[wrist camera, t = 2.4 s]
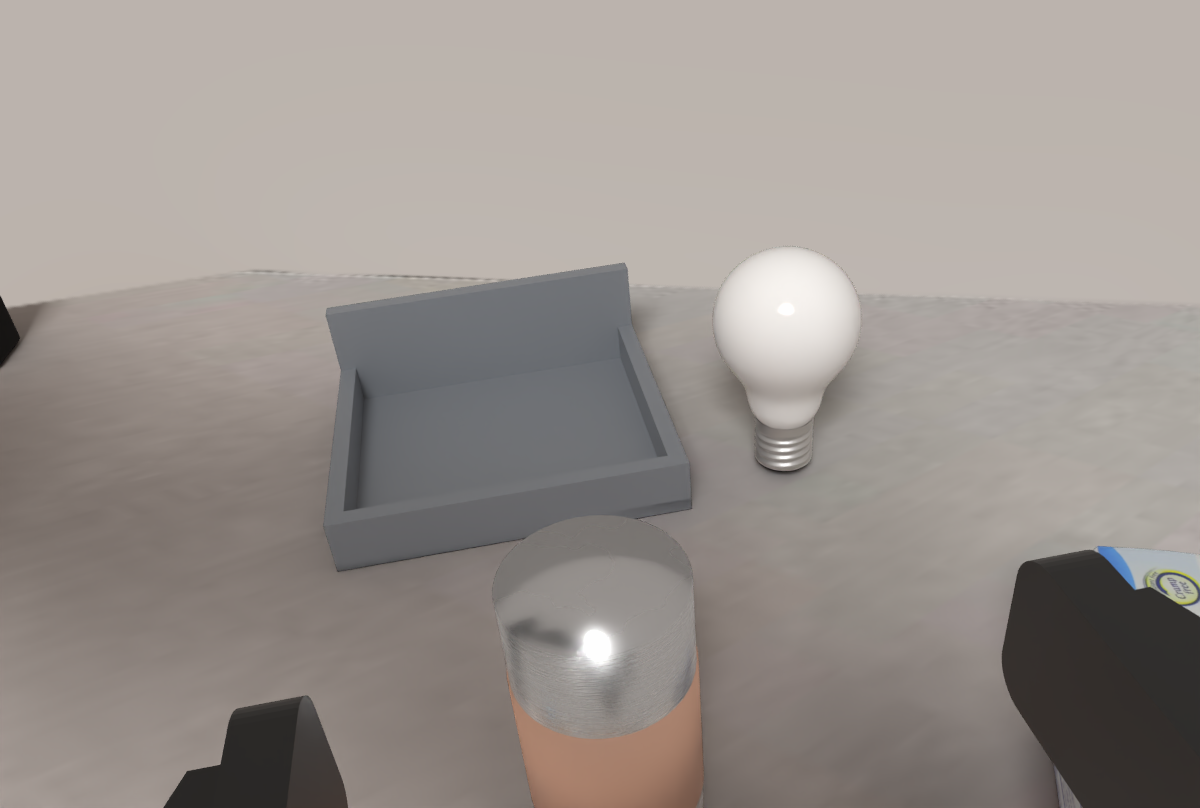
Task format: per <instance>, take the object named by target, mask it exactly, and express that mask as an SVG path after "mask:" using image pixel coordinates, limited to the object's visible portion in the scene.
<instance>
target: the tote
mask: <svg viewBox="0 0 1200 808" xmlns="http://www.w3.org/2000/svg"><path fill="white" fill-rule="evenodd" d="M326 318H327V322H328V325H329V329H330V333H331V336H332V340H333V343H334V347H335V351H336V354H337V358H338V362H339V365H340V369H341V375H340V384H339V393H338V402H337V410H336V419H335V428H334V437H333V445H332V454H331V463H330V472H329V481H328V489H327V498H326V507H325V516H324V524H323V527H324V530H325V533H326V537H327V540H328V543H329V546H330V549H331V552H332V555H333V558H334V562H335V565H336V568H337V571H343V570H349V569H354V568H360V567H366V566H371V565H377V564H383V563H388V562H394V561H400V560H405V559H411V558H416V557H422V556H428V555H433V554H439V553H445V552H450V551H456V550H462V549H467V548H473V547H478V546H484V545H490V544H495V543H501V542H507V541H512V540H518V539H523V538H527V537H528V536H530V535H531V534H533V533H535V532H537V531H538V530H540V529H542V528H544V527H547V526H549V525H552V524H554V523H557V522H560V521H564V520H567V519H572V518H576V517H583V516H593V515H612V516H621V517H627V518H632V519H636V518H642V517H647V516H653V515H659V514H664V513H670V512H676V511H681V510H687V509H692V506H691V484H690V463H689V461H688V458H687V456H686V453H685V451H684V449H683V446H682V444H681V441H680V439H679V437H678V434H677V432H676V429H675V427H674V425H673V422H672V420H671V417H670V415H669V413H668V410H667V408H666V405H665V403H664V401H663V398H662V396H661V393H660V391H659V389H658V386H657V384H656V381H655V379H654V377H653V374H652V372H651V369H650V367H649V365H648V362H647V360H646V357H645V355H644V352H643V350H642V348H641V345H640V343H639V340H638V338H637V336H636V333H635V331H634V328H633V326H632V320H631V307H630V294H629V282H628V270H627V267H626V265H625V263H619V264H613V265H607V266H600V267H593V268H587V269H580V270H574V271H568V272H560V273H555V274H547V275H541V276H535V277H528V278H521V279H515V280H508V281H502V282H495V283H488V284H482V285H475V286H469V287H462V288H456V289H449V290H443V291H436V292H430V293H423V294H416V295H410V296H403V297H397V298H390V299H384V300H377V301H371V302H364V303H357V304H351V305H344V306H338V307H331V308H327V310H326Z"/></svg>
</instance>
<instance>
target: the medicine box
mask: <svg viewBox="0 0 1200 808" xmlns="http://www.w3.org/2000/svg"><path fill="white" fill-rule="evenodd" d="M1093 551H1096V552H1098V553H1100V554H1101V555H1102V556H1104V557H1105V558H1106V559H1107V560H1108V561H1109V562H1110V563H1111V564H1112V565H1113V566H1114V568H1115V569H1116V570H1117V571H1118V572H1119V573H1120V574H1121V575H1122V576H1123V577H1124V579H1125V580H1126V581H1127V582H1128V583H1129V584H1130V585H1131V586H1132V587H1133V589H1134V590H1136V589H1141V588H1146V587H1152V588H1153V589H1155V590H1157V591H1158V592H1160V593H1162V594H1163V595H1165V596H1167V597H1168V598H1170V599H1172V600H1173V601H1175V602H1177V603H1178V604H1180V605H1181V606H1183V607H1185V608H1186V609H1188V610H1190V611H1191V612H1193V613H1195V614H1196V615H1198V616H1199V617H1200V554H1191V553H1183V552H1175V551H1163V550H1152V549H1140V548H1123V547H1105V546H1097V547H1096V548H1095V549H1094V550H1093ZM1054 770H1055V777H1056V784H1057V791H1058V798H1059V805H1060V808H1083V807H1082V806H1081V804H1080V803H1079V801H1078V800H1077V798H1076V797H1075V795H1074V794H1073V792H1072V791H1071V789H1070V788H1069V786H1068V785H1067V783H1066V782H1065V780H1064V779H1063V777H1062V776H1061V774H1060V773H1059V771H1058V770H1057V768H1056V767H1055V765H1054Z"/></svg>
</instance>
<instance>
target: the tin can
mask: <svg viewBox="0 0 1200 808" xmlns="http://www.w3.org/2000/svg"><path fill="white" fill-rule="evenodd" d="M492 599H493V603H494V608H495V613H496V618H497V623H498V628H499V633H500V638H501V643H502V648H503V652H504V657H505V662H506V667H507V681H508V686H509V691H510V696H511V701H512V706H513V710H514V715H515V720H516V725H517V730H518V735H519V739H520V744H521V749H522V754H523V759H524V764H525V769H526V773H527V778H528V783H529V788H530V793H531V798H532V802H533V804H534V807H535V808H704V804H703V779H704V768H703V747H702V725H701V703H700V681H699V660H698V650H697V646H696V635H695V614H694V592H693V574H692V568H691V565H690V561H689V559H688V557H687V555H686V553H685V552H684V550H683V549H682V547H681V546H680V545H679V544H678V543H677V542H676V541H675V540H674V539H673V538H672V537H671V536H669V535H668V534H667V533H665V532H664V531H662V530H660V529H659V528H657V527H655V526H653V525H650V524H648V523H645V522H642V521H639V520H636V519H632V518H627V517H621V516H612V515H593V516H583V517H576V518H572V519H567V520H564V521H560V522H557V523H554V524H552V525H549V526H547V527H544V528H542V529H540V530H538V531H537V532H535V533H533V534H531V535H530V536H528V537H527V538H525V539H524V540H522V541H521V542H520V543H519V544H518V545H516V546H515V547H514V548H513V549H512V550H511V551H510V552H509V553H508V555H507V556H506V557H505V559H504V560H503V561H502V563H501V565H500V567H499V568H498V570H497V573H496V576H495V578H494V583H493V588H492Z"/></svg>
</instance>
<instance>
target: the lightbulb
mask: <svg viewBox="0 0 1200 808" xmlns="http://www.w3.org/2000/svg"><path fill="white" fill-rule="evenodd" d="M861 327H862V311H861V305H860V300H859V297H858V294H857V291H856V289H855V287H854V285H853V283H852V281H851V280H850V278H849V277H848V275H847V274H846V273H845V272H844V271H843V269H842V268H841V267H840V266H838V265H837V264H836V263H835V262H834V261H832V260H831V259H829V258H828V257H826V256H825V255H823V254H820V253H818V252H816V251H813V250H810V249H807V248H802V247H795V246H783V247H775V248H770V249H766V250H763V251H760V252H758V253H756V254H754V255H752V256H750V257H748V258H747V259H745V260H744V261H742V262H741V263H740V264H739V265H737V266H736V267H735V268H734V269H733V270H732V271H731V273H730V274H729V275H728V276H727V278H726V279H725V280H724V282H723V284H722V285H721V287H720V289H719V291H718V294H717V297H716V300H715V303H714V308H713V315H712V328H713V335H714V340H715V343H716V346H717V349H718V351H719V353H720V355H721V357H722V359H723V360H724V362H725V363H726V365H727V366H728V368H729V369H730V370H731V371H732V373H733V374H734V375H735V376H736V377H737V378H738V380H739V381H740V382H741V383H742V385H743V386H744V388H745V391H746V395H747V399H748V403H749V406H750V408H751V410H752V412H753V414H754V415H755V457H756V459H757V460H758V462H759V463H761V464H762V465H763V466H765V467H767V468H770V469H773V470H778V471H791V470H796V469H799V468H801V467H803V466H805V465H806V464H808V463H809V461H810V460H811V458H812V445H813V440H812V438H813V423H814V416H815V415H816V413H817V411H818V410H819V407H820V405H821V402H822V398H823V394H824V391H825V389H826V387H827V386H828V385H829V384H830V383H831V381H832V380H833V379H834V378H835V377H836V376H837V375H838V374H839V373H840V372H841V371H842V369H843V368H844V367H845V366H846V364H847V363H848V362H849V360H850V358H851V357H852V355H853V353H854V351H855V349H856V347H857V344H858V341H859V338H860V333H861Z"/></svg>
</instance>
